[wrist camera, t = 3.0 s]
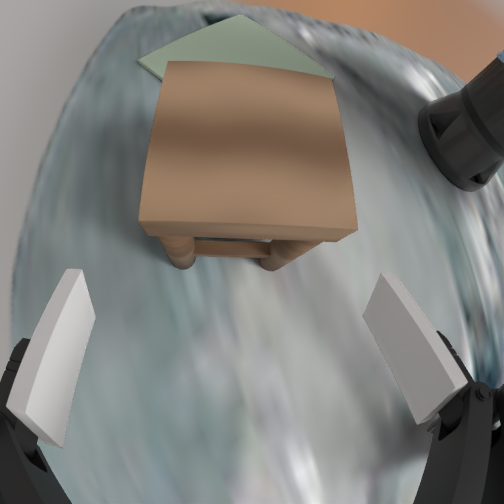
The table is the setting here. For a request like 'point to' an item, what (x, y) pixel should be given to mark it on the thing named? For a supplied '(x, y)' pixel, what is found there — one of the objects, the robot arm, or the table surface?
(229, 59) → the mat
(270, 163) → the stool
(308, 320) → the table surface
